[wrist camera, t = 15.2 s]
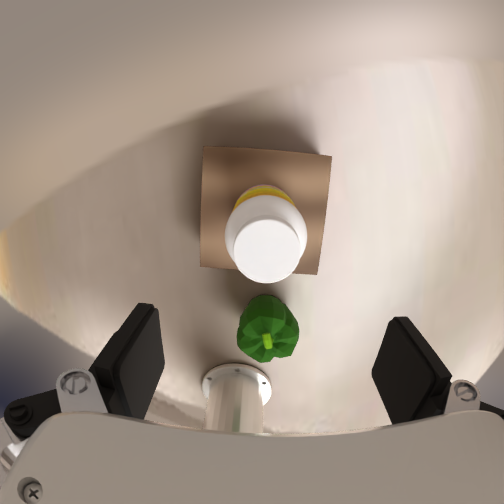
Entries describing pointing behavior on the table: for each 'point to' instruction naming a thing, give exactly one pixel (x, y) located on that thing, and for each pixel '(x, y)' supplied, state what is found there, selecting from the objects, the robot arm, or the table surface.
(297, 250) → the supplement bottle
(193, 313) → the table surface
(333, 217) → the table surface
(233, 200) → the walnut block
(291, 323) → the bell pepper
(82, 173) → the table surface
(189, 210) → the table surface
